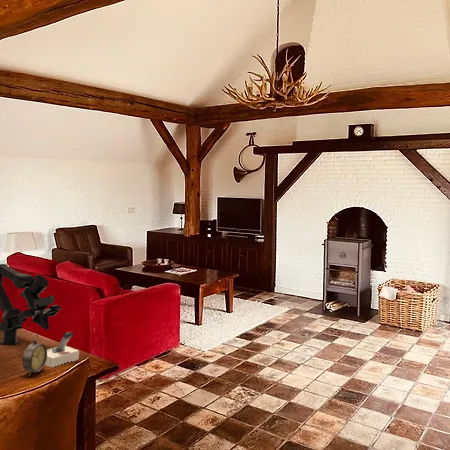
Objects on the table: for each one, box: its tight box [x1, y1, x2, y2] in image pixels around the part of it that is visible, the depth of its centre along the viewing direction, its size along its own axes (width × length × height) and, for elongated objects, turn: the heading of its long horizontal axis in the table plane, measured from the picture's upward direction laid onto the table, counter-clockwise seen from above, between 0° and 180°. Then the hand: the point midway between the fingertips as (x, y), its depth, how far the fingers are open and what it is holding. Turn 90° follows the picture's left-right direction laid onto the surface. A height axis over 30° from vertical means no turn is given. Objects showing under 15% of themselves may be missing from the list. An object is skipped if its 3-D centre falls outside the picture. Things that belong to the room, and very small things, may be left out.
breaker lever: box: [56, 331, 74, 352], centre depth 201 cm, size 2×3×10 cm
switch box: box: [44, 345, 80, 368], centre depth 203 cm, size 10×14×6 cm
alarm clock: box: [21, 332, 48, 378], centre depth 187 cm, size 11×5×16 cm, turn 168°
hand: (47, 329), depth 207 cm, fingers closed
